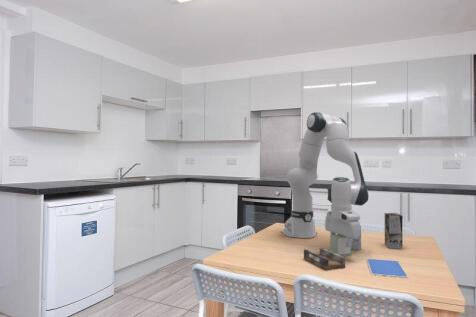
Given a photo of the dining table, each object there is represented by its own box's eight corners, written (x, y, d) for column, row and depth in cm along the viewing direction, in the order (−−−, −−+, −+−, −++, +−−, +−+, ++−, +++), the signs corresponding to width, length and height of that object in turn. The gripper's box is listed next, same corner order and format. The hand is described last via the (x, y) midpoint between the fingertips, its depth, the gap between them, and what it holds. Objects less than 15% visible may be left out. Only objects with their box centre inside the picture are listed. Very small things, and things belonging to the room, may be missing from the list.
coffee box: (403, 249, 156) (403, 215, 156) (388, 248, 157) (388, 215, 157) (397, 244, 165) (397, 212, 165) (384, 243, 166) (384, 212, 166)
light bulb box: (361, 247, 160) (361, 225, 160) (360, 250, 154) (360, 227, 154) (338, 244, 164) (338, 223, 164) (337, 247, 158) (337, 225, 158)
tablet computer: (408, 280, 116) (408, 276, 116) (371, 276, 120) (371, 273, 120) (398, 264, 135) (398, 260, 135) (366, 261, 138) (366, 258, 138)
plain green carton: (330, 254, 146) (330, 234, 146) (344, 253, 149) (344, 233, 149) (336, 257, 141) (336, 237, 142) (351, 256, 144) (351, 235, 144)
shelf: (303, 258, 139) (303, 249, 140) (321, 256, 143) (321, 247, 143) (325, 270, 124) (325, 260, 125) (345, 267, 128) (345, 257, 128)
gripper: (321, 210, 154) (321, 240, 154) (350, 217, 135) (351, 250, 135) (332, 210, 156) (332, 238, 156) (362, 216, 137) (363, 249, 137)
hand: (341, 244), depth 145 cm, fingers open, 8 cm apart
